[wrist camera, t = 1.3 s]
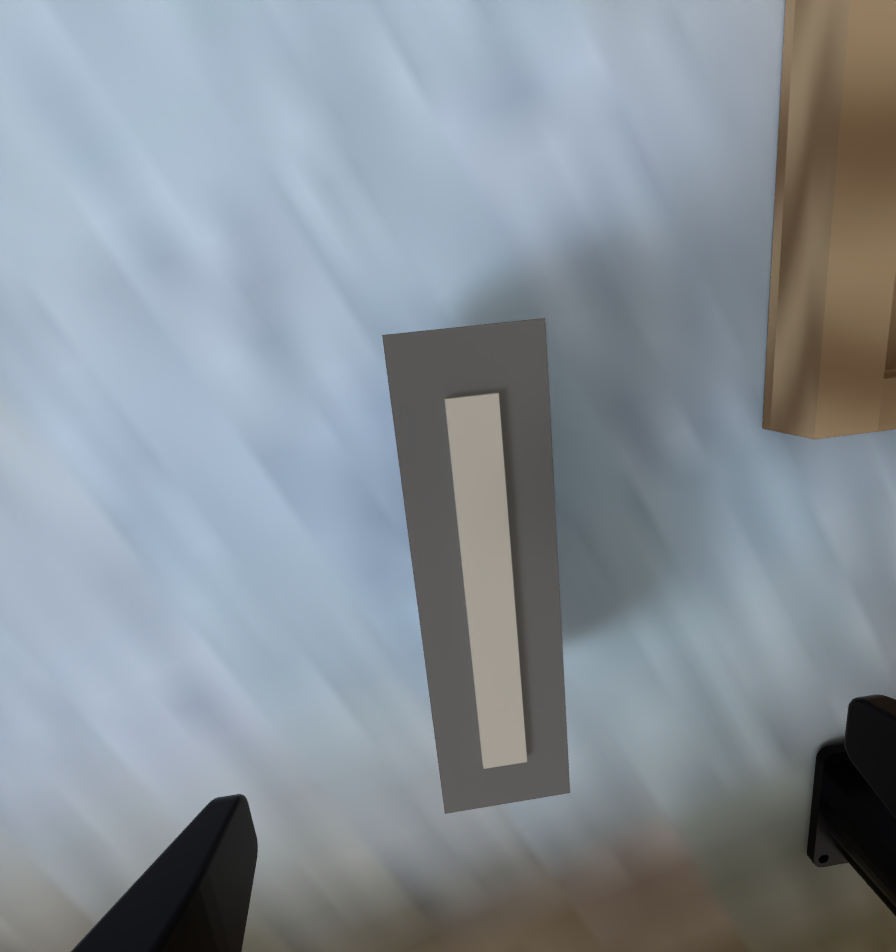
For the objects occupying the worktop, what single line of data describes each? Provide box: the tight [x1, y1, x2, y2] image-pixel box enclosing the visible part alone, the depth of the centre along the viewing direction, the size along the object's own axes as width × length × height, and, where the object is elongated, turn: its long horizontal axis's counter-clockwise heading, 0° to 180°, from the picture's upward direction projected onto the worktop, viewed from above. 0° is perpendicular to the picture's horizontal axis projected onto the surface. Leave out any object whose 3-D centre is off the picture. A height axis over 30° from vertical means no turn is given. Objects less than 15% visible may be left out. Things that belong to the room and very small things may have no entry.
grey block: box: [382, 318, 570, 814], centre depth 15 cm, size 13×4×6 cm, turn 6°
